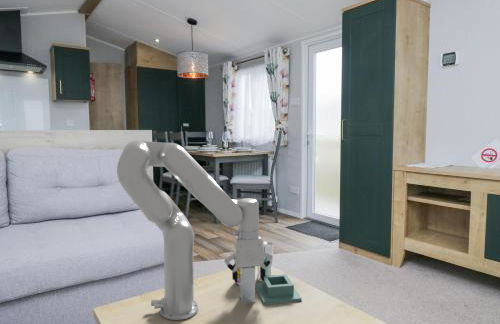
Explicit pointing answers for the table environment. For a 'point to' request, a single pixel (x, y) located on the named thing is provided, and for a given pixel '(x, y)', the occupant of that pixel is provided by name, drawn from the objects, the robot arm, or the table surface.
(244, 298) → the silver square block
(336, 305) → the table surface
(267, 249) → the beer glass
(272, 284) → the well
